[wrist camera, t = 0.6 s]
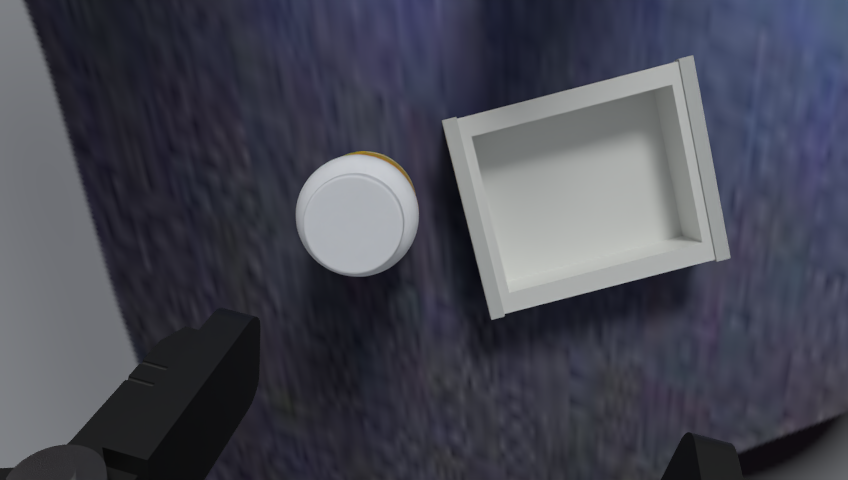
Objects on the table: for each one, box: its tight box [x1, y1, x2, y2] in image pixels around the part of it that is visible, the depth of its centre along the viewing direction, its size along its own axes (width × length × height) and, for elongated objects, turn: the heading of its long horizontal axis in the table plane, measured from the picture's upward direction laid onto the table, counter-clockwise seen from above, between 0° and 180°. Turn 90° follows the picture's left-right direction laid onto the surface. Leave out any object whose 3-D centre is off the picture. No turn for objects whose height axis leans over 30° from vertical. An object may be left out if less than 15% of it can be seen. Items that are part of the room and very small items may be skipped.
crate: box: [442, 55, 730, 320], centre depth 34 cm, size 10×12×3 cm
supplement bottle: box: [296, 151, 419, 277], centre depth 31 cm, size 5×5×10 cm
